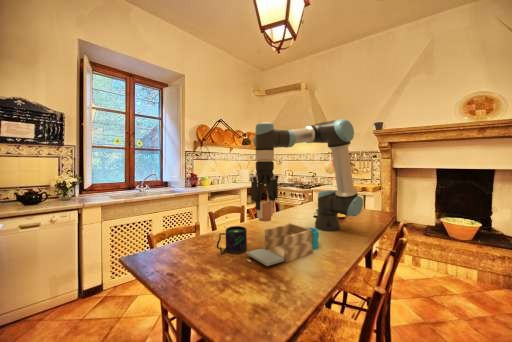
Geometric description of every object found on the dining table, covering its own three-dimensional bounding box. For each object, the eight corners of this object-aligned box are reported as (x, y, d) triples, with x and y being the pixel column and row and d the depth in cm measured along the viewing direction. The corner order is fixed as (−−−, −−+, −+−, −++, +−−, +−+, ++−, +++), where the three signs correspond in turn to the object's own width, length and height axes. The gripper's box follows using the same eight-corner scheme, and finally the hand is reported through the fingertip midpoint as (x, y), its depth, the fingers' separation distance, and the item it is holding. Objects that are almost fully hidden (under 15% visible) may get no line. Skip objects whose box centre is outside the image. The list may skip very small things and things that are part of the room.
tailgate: (264, 247, 106) (246, 252, 100) (285, 258, 95) (267, 263, 89) (264, 250, 106) (246, 254, 100) (285, 260, 95) (267, 266, 89)
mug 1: (241, 244, 116) (241, 224, 116) (250, 251, 107) (250, 230, 107) (212, 250, 109) (211, 229, 109) (218, 258, 100) (218, 235, 100)
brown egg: (265, 217, 100) (265, 201, 100) (273, 220, 96) (273, 203, 96) (256, 219, 97) (256, 203, 97) (264, 222, 93) (264, 204, 93)
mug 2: (311, 251, 107) (311, 233, 107) (297, 246, 113) (297, 230, 113) (325, 244, 115) (325, 228, 115) (311, 240, 121) (311, 225, 121)
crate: (290, 243, 117) (290, 223, 116) (312, 252, 106) (312, 230, 105) (264, 251, 106) (264, 229, 106) (286, 262, 95) (286, 237, 95)
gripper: (274, 160, 104) (274, 211, 105) (241, 161, 93) (242, 218, 94) (286, 160, 98) (286, 215, 99) (252, 161, 87) (253, 222, 88)
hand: (264, 216), depth 96 cm, fingers closed on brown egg, 5 cm apart
